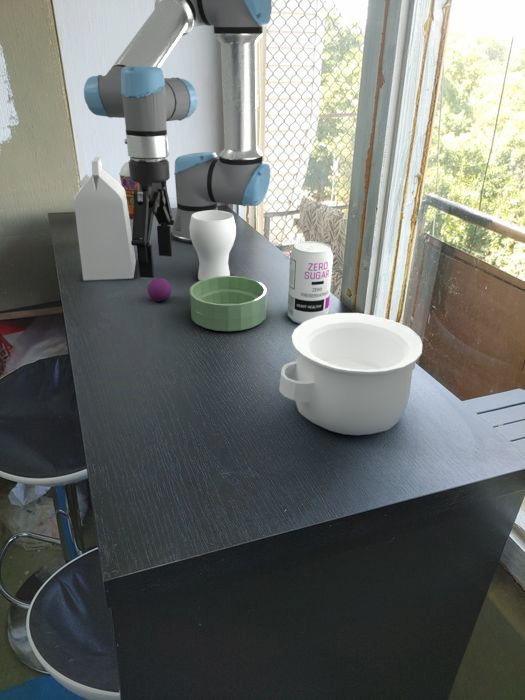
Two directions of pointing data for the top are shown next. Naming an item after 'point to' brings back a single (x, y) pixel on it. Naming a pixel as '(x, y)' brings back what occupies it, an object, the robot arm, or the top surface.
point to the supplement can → (309, 280)
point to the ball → (159, 289)
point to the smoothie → (128, 187)
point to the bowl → (228, 303)
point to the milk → (103, 227)
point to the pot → (351, 371)
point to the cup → (212, 241)
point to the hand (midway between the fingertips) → (156, 265)
